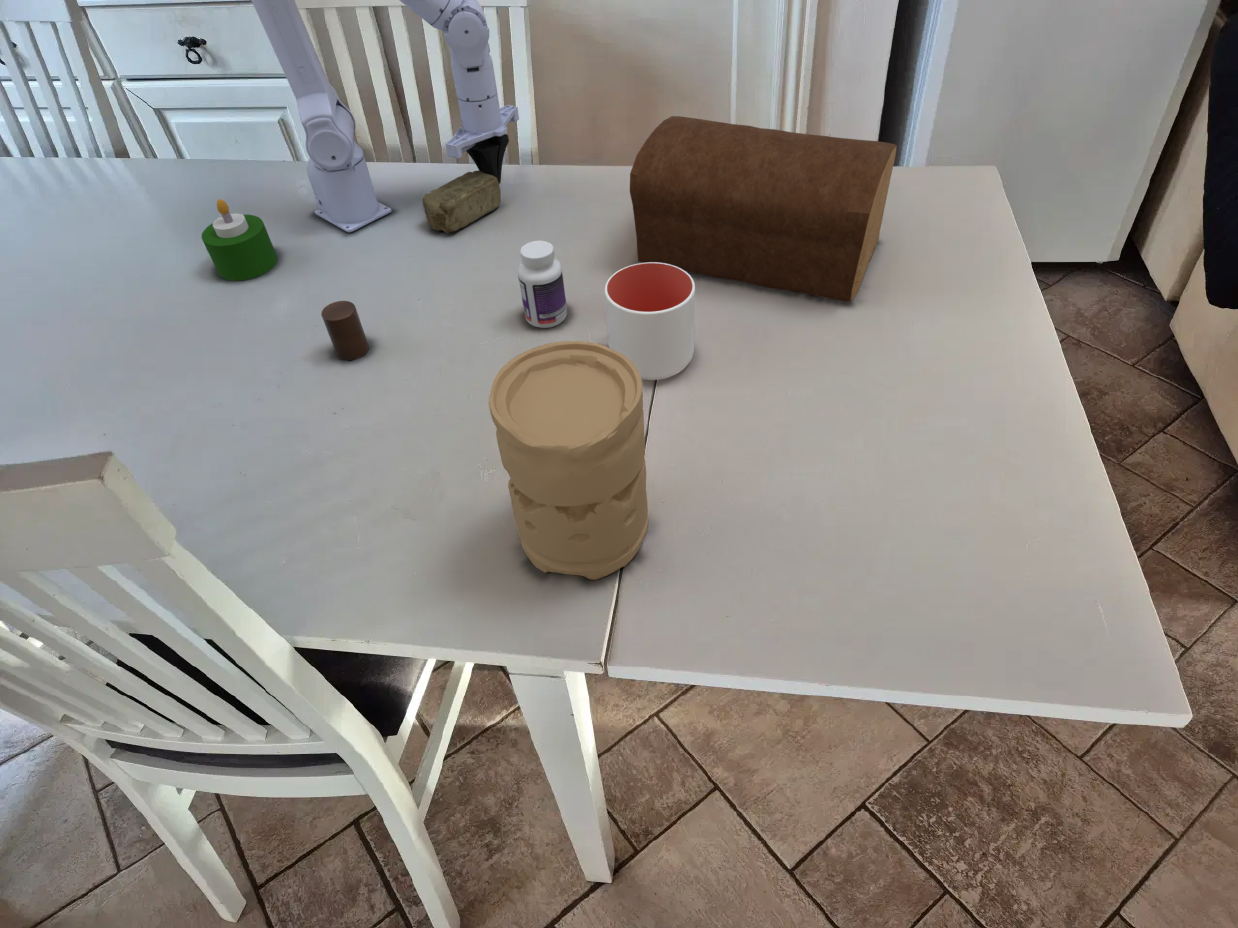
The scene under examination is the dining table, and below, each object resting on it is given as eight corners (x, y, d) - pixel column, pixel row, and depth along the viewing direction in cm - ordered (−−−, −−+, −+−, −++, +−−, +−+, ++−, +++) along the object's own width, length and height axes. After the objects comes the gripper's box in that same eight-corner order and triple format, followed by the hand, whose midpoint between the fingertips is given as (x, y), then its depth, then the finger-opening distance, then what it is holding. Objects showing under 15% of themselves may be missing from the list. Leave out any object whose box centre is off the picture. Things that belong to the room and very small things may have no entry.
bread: (677, 204, 121) (677, 95, 110) (880, 238, 112) (903, 122, 100) (630, 268, 110) (624, 154, 98) (851, 311, 101) (874, 190, 89)
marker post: (330, 352, 101) (314, 312, 96) (356, 336, 103) (342, 296, 98) (348, 364, 99) (333, 324, 94) (375, 348, 101) (361, 308, 96)
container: (655, 574, 75) (650, 434, 62) (519, 587, 74) (485, 449, 61) (641, 475, 83) (634, 334, 70) (519, 487, 83) (490, 347, 70)
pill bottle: (574, 309, 104) (567, 241, 97) (555, 333, 101) (546, 265, 94) (538, 300, 106) (528, 233, 99) (517, 323, 103) (505, 256, 96)
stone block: (505, 206, 124) (500, 175, 120) (449, 239, 118) (442, 208, 114) (479, 195, 126) (473, 165, 123) (423, 228, 121) (415, 196, 117)
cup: (703, 339, 98) (705, 268, 91) (680, 392, 92) (680, 319, 85) (625, 326, 101) (621, 256, 94) (597, 377, 95) (591, 305, 87)
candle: (231, 287, 112) (201, 222, 105) (208, 264, 116) (177, 200, 109) (287, 264, 115) (261, 199, 108) (262, 242, 120) (236, 178, 113)
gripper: (466, 118, 109) (483, 211, 119) (529, 80, 118) (541, 169, 127) (427, 109, 112) (447, 200, 122) (491, 72, 120) (505, 160, 130)
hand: (492, 184), depth 125 cm, fingers closed
